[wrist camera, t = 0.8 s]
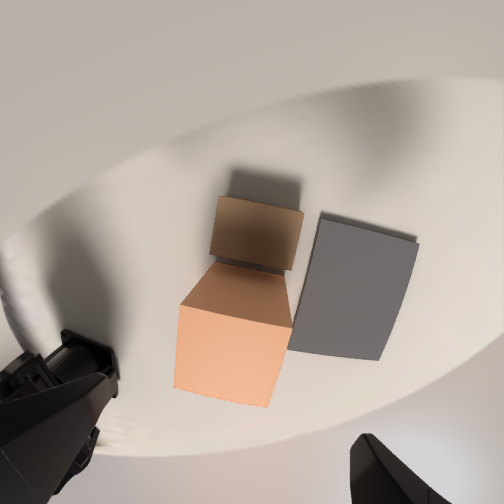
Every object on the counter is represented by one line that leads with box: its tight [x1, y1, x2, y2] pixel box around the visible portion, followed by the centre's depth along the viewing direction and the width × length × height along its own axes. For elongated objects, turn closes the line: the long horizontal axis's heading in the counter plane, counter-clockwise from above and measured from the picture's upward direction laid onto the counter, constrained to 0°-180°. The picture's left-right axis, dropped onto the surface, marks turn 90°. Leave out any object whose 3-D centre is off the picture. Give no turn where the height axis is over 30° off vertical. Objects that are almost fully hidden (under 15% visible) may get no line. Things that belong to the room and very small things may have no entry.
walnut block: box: [209, 196, 304, 271], centre depth 17 cm, size 5×4×3 cm
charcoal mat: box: [287, 218, 420, 361], centre depth 19 cm, size 8×10×1 cm
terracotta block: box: [174, 262, 293, 408], centre depth 16 cm, size 5×5×8 cm
